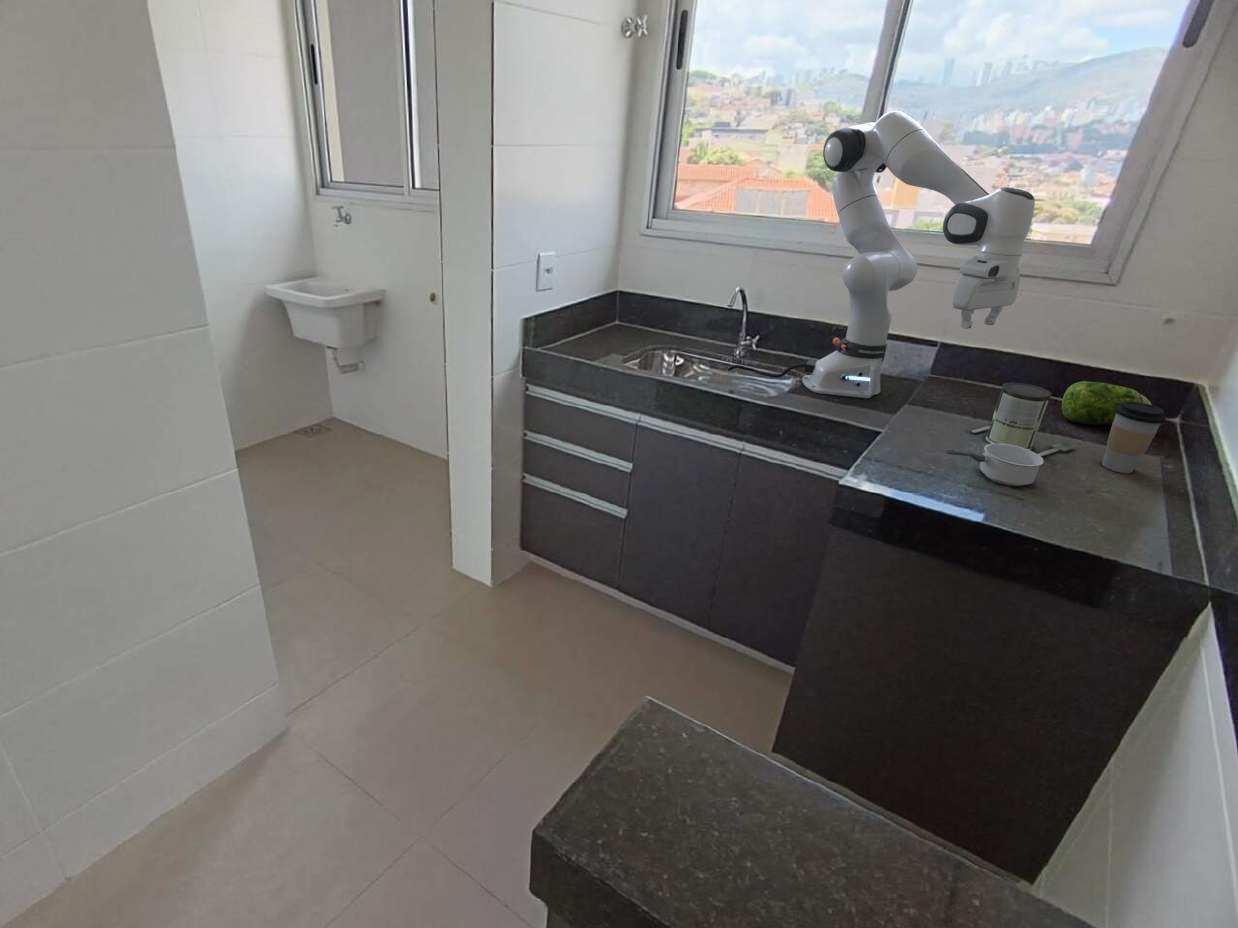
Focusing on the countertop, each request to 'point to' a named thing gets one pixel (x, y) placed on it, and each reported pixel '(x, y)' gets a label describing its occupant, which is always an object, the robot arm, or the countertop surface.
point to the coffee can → (1018, 415)
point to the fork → (980, 430)
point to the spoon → (1056, 449)
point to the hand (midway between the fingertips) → (977, 326)
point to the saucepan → (1006, 463)
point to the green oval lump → (1096, 402)
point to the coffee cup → (1131, 434)
